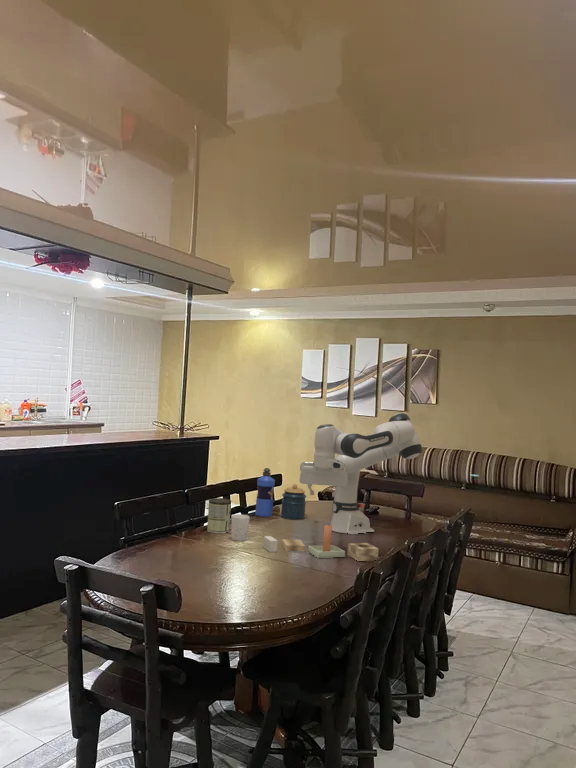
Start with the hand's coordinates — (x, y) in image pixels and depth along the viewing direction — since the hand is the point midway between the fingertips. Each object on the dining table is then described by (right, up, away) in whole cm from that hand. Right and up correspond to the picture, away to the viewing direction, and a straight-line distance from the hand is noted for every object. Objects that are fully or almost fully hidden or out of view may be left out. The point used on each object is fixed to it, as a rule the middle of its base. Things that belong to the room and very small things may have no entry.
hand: (322, 495), depth 244 cm
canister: (-12, -24, +65) cm, 71 cm away
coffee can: (-47, -21, +22) cm, 56 cm away
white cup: (-36, -21, +9) cm, 43 cm away
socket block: (+16, -24, -9) cm, 30 cm away
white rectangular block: (-22, -21, -5) cm, 31 cm away
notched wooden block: (-13, -22, -1) cm, 26 cm away
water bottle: (-28, -23, +66) cm, 76 cm away
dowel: (+1, -22, -7) cm, 23 cm away
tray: (+1, -23, -7) cm, 24 cm away
